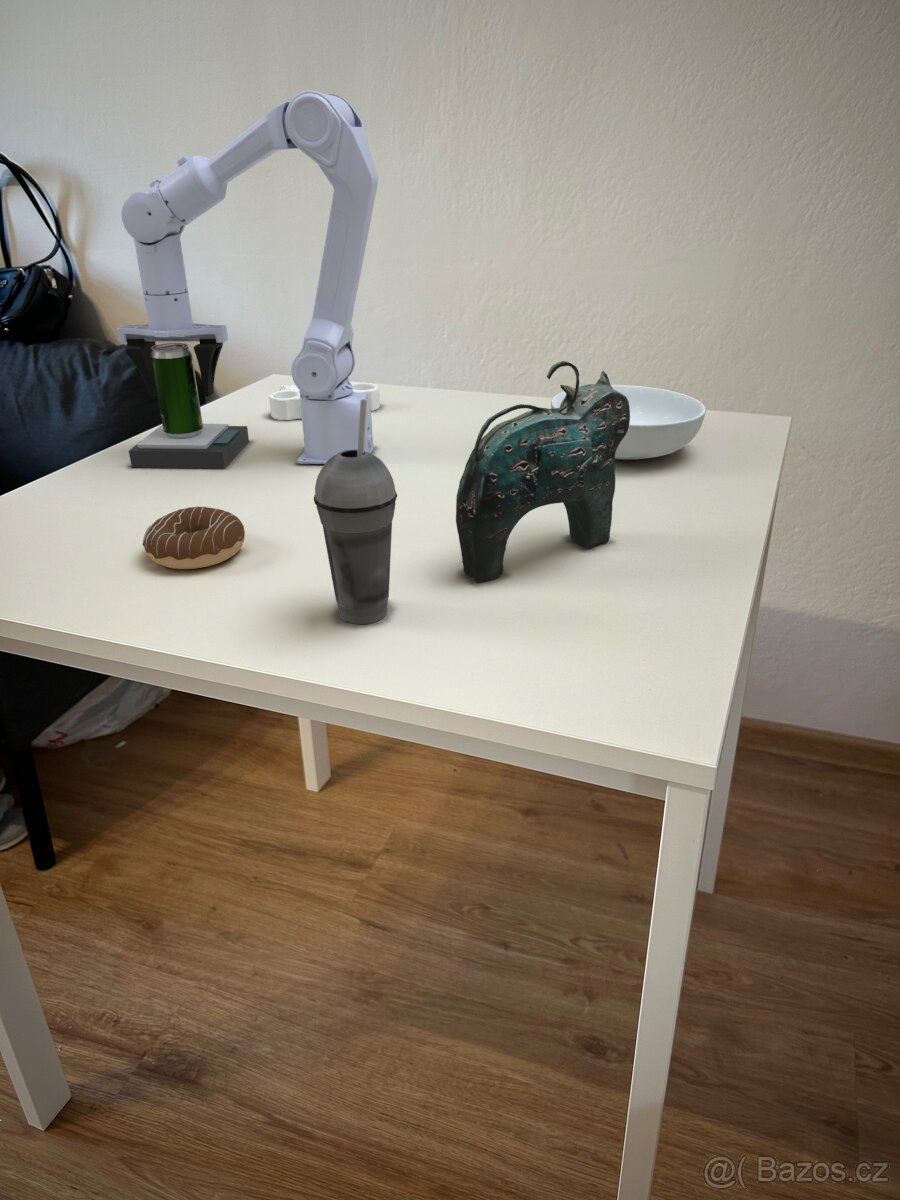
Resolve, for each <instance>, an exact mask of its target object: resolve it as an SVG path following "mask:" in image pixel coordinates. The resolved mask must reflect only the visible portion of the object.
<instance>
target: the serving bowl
mask: <svg viewBox="0 0 900 1200" xmlns="http://www.w3.org/2000/svg"><path fill="white" fill-rule="evenodd" d="M611 386H612V388H613V389H614V390H616V391H618V392H620V393H622V394H623V395H625V396H626V397H627V399H628V401H629V406H630V423H629V428H628V431H627V433H626V435H625V437H624V438H623V439H622V441H621V442H620V444H619V446H618V447H617V450H616V453H615V461H617V460H618V461H639V460H644V459H653V458H658V457H663V456H667V455H670V454H673V453H675V452H677V451H679V450H681V449H682V448H684V447H686V446H687V445H688V444H689V443H691V441H693V439H694V438H696V436H697V435H698V433H699V431H700V429H701V427H702V425H703V423H704V420H705V416H706V414H707V413H706V412H707V409H706V406H705V405H704V404H703V402H702V401H700V400H698V399H696V398H694V397H692V396H690V395H687V394H684V393H681V392H677V391H673V390H670V389H665V388H664V389H663V388H658V387H652V386H643V385H632V384H611ZM565 396H566V393H565V391H564V390H563V391H561V392H559V393H557V394H556V395H554V396H553V397H552V399H550V409H554V408H560V405H561V402H562V401H563V399H564V398H565Z"/></svg>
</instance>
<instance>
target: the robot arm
mask: <svg viewBox="0 0 900 1200" xmlns="http://www.w3.org/2000/svg"><path fill="white" fill-rule="evenodd" d="M281 150H282V151H284V150H299V151H301V152H302V153H303V154H305V155H306V156H307V157H308V158H310V159H311V160H312V161H313V162H314V163H316V164H317V165H318V167H319V168H320V170H321V171H322V173H323V174H324V176H325V177H326V178H327V180H328V182H329V183H330V184H331V186H332V188H333V194H332V200H331V205H330V211H329V217H328V223H327V227H326V234H325V241H324V247H323V252H322V259H321V265H320V271H319V276H318V282H317V288H316V293H315V299H314V306H313V312H312V318H311V320H310V323H309V325H308V327H307V330H306V332H305V334H304V338H303V341H302V346H301V349H300V350H299V353H297V355H296V356H295V358H294V359H293V361H292V364H291V378H292V381H293V383H294V385H296V386H297V388H298V389H299V393H300V403H301V414H302V419H301V422H302V423H301V424H302V434H303V435H302V436H303V445H304V449H303V451H302V452H301V454H300V456H299V457H298V458H297V461H296V462H297V464H298V465H299V464H301V465H302V464H303V465H324V464H325V463H326V462H327V461H328V460H329V459H330V458H331V457H333V456H334V455H336V454H338V453H340V452H343V451H346V450H358V435H359V419H360V403H361V400H362V399H364V400H367V405H366V422H365V438H364V451H366V452H369V453H371V454H372V451H373V450H374V448H375V444H374V439H373V438H374V437H373V420H372V419H373V418H372V411H371V403H370V398H369V395H368V394H365V393H357V392H354V391H353V386H352V384H351V383H350V379H349V377H350V376H351V375H352V373H353V372H354V369H355V365H356V357H355V352H354V350H353V339H354V329H353V326H352V321H353V315H354V312H355V311H354V310H355V306H356V300H357V295H358V289H359V284H360V278H361V273H362V267H363V263H364V258H365V253H366V247H367V242H368V237H369V233H370V232H369V231H370V226H371V221H372V216H373V211H374V205H375V201H376V195H377V191H378V190H377V189H378V184H379V181H378V180H379V177H378V173H377V169H376V166H375V162H374V160H373V156H372V153H371V149H370V147H369V143H368V139H367V136H366V128H365V122H364V121H363V120H362V118H361V117H360V116H359V114H358V112H357V111H356V109H355V108H354V107H353V106H352V104H350V102H349V101H348V100H347V99H346V98H344V97H343V96H340V94H339V95H338V94H335V93H322V92H320V91H317V90H310V89H309V90H304V91H301V92H299V93H297V94H296V95H294V96H293V97H292V99H291V100H290V101H284V102H282V103H280V104H278V105H276V106H274V107H273V108H272V109H271V110H269V111H268V112H266V113H265V114H264V115H263V116H262V117H260V118H259V119H257V121H255V122H254V123H252V125H251V126H249V127H248V128H246V129H245V130H244V131H243V132H242V133H240V134H239V135H238V136H237V137H236V138H234V139H233V140H232V141H230V142H229V143H228V144H227V145H225V146H224V147H223V148H222V149H220V150H219V151H218V152H217V153H215V154H214V155H213V156H212V157H210V158H209V157H205V156H203V155H199V154H194V155H193V156H192V157H190V155H183V156H182V157H180V158H178V159H177V161H176V163H177V165H178V166H177V167H176V168H175V169H173V170H172V171H171V172H170V173H168V174H167V175H165V176H164V177H162V178H161V179H159V178H154V179H152V180H150V182H149V187H150V188H149V191H148V192H146V191H133V192H132V193H130V195H129V197H128V198H126V200H125V201H124V203H123V205H122V209H121V221H122V224H123V226H124V229H125V231H126V232H127V233H128V235H129V236H130V237H132V238H133V241H134V248H135V253H136V259H137V266H138V271H139V277H140V284H141V289H142V293H143V300H144V305H145V312H146V317H147V323H145V324H122V325H119V326H117V327H116V333H117V339H118V343H126V346H124V352H125V354H126V355H127V356H128V358H129V359H130V360H131V361H132V363H133V364H134V366H135V367H136V368H137V370H138V372H139V374H140V375H141V378H142V379H143V381H144V384H145V385H146V388H147V391H148V393H149V396H150V397H156V396H157V390H156V385H155V379H154V373H153V368H152V362H151V356H150V355H151V352H152V350H151V347H152V346H155V345H156V344H157V343H156V342H199V343H197V344H196V345H194V346H193V351H194V353H195V357H196V360H197V363H198V368H199V373H200V378H201V379H200V380H201V388H202V393H203V396H204V397H207V398H209V397H211V396H212V395H213V394H214V389H215V388H214V387H215V386H214V385H215V376H216V371H217V365H218V361H219V358H220V355H221V353H222V352H221V351H222V349H223V345H224V343H225V342H227V341H228V340H229V337H228V331H227V329H228V328H227V325H226V324H224V325H223V324H209V323H208V324H206V323H194V322H193V315H192V308H191V302H190V294H189V288H188V281H187V275H186V274H187V273H186V269H185V261H184V254H183V249H182V241H181V236H182V234H183V232H184V231H185V228H186V226H188V225H189V224H192V222H193V221H195V220H196V219H198V218H200V217H201V216H202V215H204V214H205V213H206V212H208V211H209V210H211V209H212V208H214V207H215V206H217V205H218V204H220V203H221V202H222V201H224V200H225V199H226V195H227V189H228V184H229V183H230V182H231V181H233V180H234V179H236V178H237V177H239V176H241V175H243V174H244V173H245V172H247V171H249V170H250V169H251V168H253V167H255V166H256V165H258V164H260V163H262V162H263V161H264V160H266V159H268V158H269V157H270V156H272V155H274V154H275V153H277V152H278V151H279V152H280V151H281Z"/></svg>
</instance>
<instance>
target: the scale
mask: <svg viewBox="0 0 900 1200" xmlns="http://www.w3.org/2000/svg"><path fill="white" fill-rule="evenodd" d="M249 436H250V435H249V428H248V426H247V425H229V423H203V429H202V432H201V434H200V435H198V436H195V437H191V438H185V439H173V438H169V437H167V435H166V434H165V432H164V430H163V425H162V424H161V425H160V426H158V427H157V428H156V429H154V430H153V431H152V432H151V433H150V434H148V435H147V436H146V437H144V438H143V439H141V440H140V441H139V442H138V443H137V444H135V445H134V446H133V447H132V448H130V449H129V450H128V455H129V460H130V465H131V468H132V469H133V468H137V469H138V468H140V469H142V468H143V469H144V468H145V469H204V470H205V469H209V470H210V469H211V470H212V469H213V470H214V469H216V470H224V469H226V468H227V467H228V466H229V464H230V463H232V461H233V460H235V458H236V457H237V455H239V454H240V453H241V452H242V450H243V449H244V448H245V447H246V446H247V445H248V444H249V442H250V437H249Z"/></svg>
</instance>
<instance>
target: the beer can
mask: <svg viewBox="0 0 900 1200" xmlns="http://www.w3.org/2000/svg"><path fill="white" fill-rule="evenodd" d="M151 350H152V352H151V355H150V356H151V362H152V368H153V373H154V379H155V385H156V390H157V395H156V396H157V401H158V407H159V413H160V419H161V425H163V430H164V432H165V434H166V435H167V437H169V438H173V439H185V438H191V437H195V436H198V435H200V434H201V432H202V429H203V424H204V422H203V418H202V417H203V416H202V409H201V404H200V397H199V391H198V385H197V378H196V370H195V364H194V358H193V357H194V356H193V352H192V350H191V349H190V344H188V343H186V342H185V343H183V342H166V343H160V344H155V346H152V347H151Z"/></svg>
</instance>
